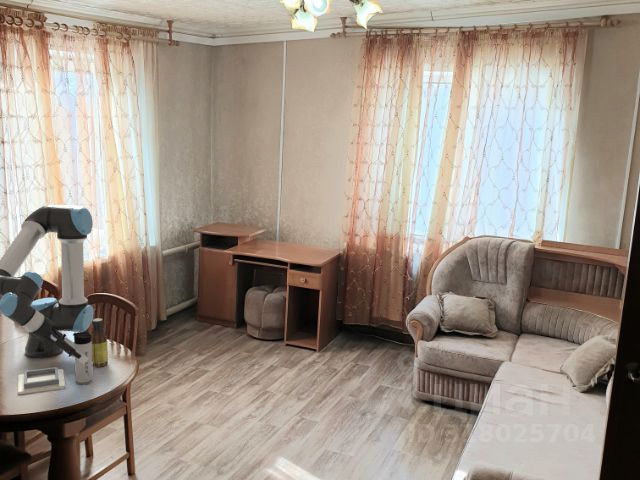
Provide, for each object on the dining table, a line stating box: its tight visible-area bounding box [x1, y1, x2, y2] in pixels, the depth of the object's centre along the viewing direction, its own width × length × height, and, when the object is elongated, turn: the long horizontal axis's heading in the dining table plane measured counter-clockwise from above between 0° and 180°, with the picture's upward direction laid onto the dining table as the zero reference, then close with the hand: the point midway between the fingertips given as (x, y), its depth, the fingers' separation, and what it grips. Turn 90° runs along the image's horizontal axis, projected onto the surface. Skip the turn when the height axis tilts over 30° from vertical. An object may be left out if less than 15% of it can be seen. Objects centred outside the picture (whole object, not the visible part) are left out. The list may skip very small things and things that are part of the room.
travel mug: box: [72, 331, 94, 386], centre depth 232 cm, size 6×7×20 cm
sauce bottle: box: [90, 317, 109, 368], centre depth 247 cm, size 7×6×20 cm
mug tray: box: [17, 366, 66, 396], centre depth 231 cm, size 16×16×3 cm
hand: (81, 355), depth 230 cm, fingers open, 13 cm apart
